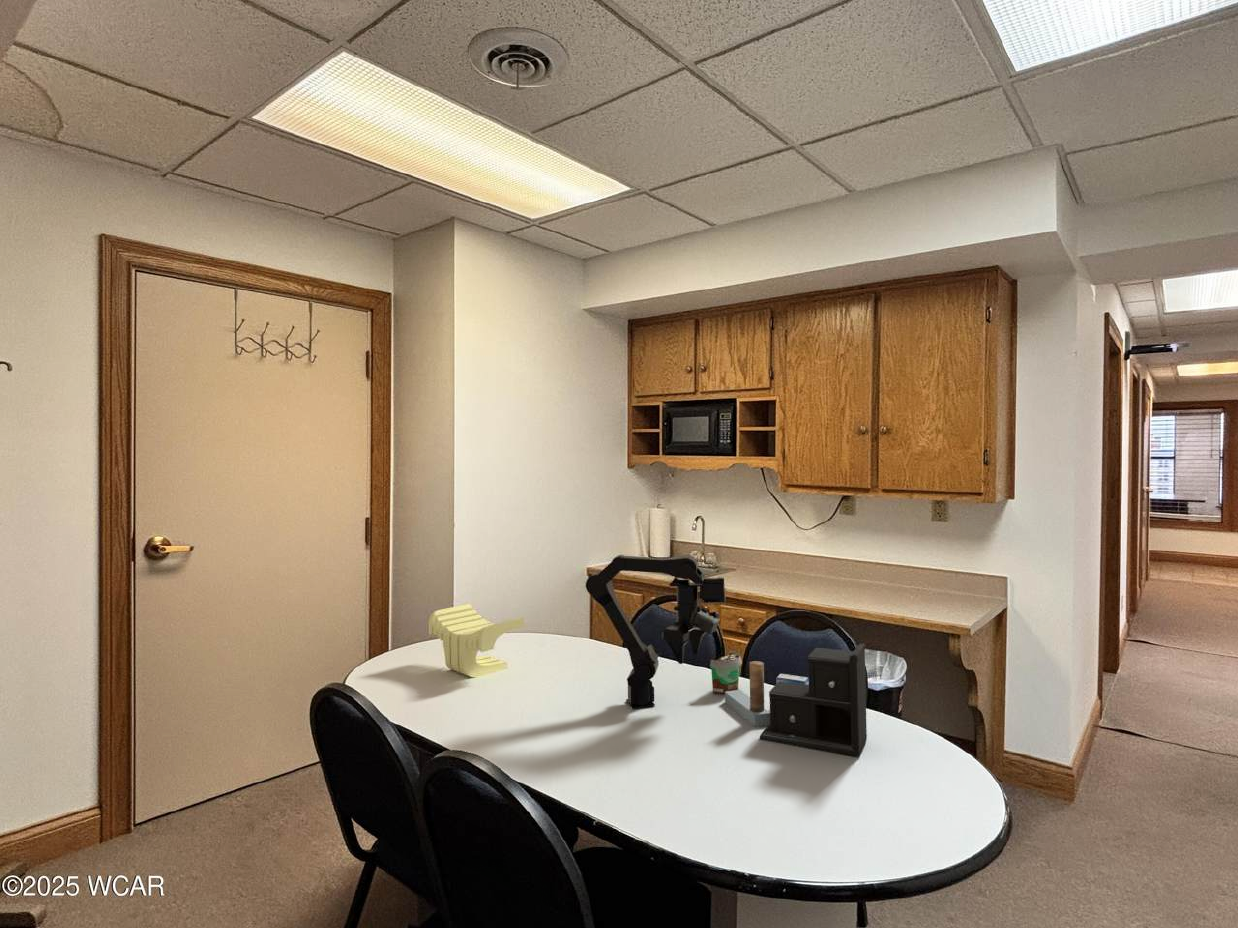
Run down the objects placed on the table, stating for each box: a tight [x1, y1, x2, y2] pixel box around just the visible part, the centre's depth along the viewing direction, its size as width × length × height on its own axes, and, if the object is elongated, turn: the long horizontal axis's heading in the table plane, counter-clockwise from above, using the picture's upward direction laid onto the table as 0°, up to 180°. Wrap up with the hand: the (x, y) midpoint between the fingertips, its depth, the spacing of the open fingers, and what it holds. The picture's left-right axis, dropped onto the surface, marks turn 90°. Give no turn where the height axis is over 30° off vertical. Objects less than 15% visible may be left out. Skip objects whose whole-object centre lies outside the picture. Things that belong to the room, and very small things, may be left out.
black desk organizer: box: [759, 643, 868, 758], centre depth 170 cm, size 23×11×24 cm, turn 62°
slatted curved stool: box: [428, 603, 525, 678], centre depth 229 cm, size 30×16×18 cm, turn 46°
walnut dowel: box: [749, 660, 765, 712], centre depth 182 cm, size 4×4×12 cm
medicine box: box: [775, 673, 809, 685], centre depth 191 cm, size 8×4×9 cm, turn 62°
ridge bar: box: [724, 689, 770, 728], centre depth 188 cm, size 4×18×3 cm, turn 16°
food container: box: [709, 650, 743, 696], centre depth 205 cm, size 12×6×10 cm, turn 143°
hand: (688, 659), depth 193 cm, fingers open, 9 cm apart
